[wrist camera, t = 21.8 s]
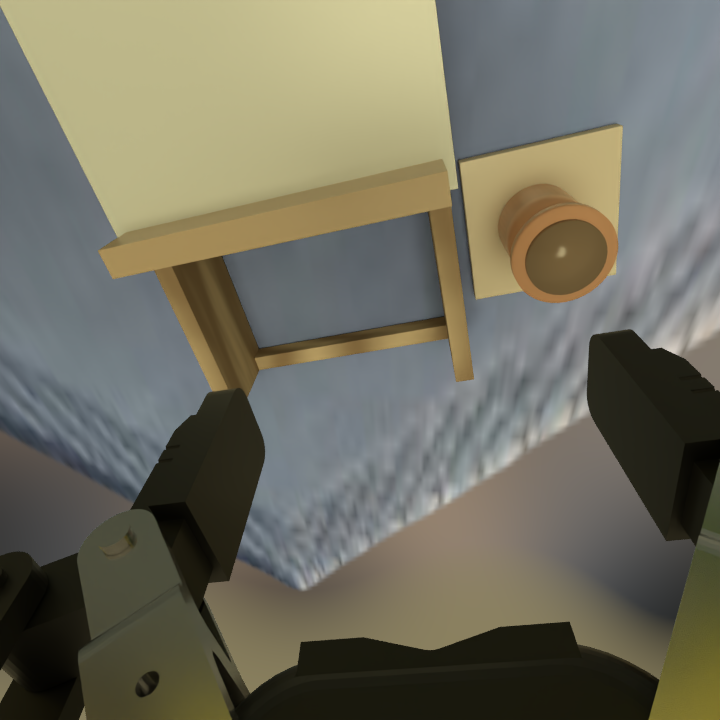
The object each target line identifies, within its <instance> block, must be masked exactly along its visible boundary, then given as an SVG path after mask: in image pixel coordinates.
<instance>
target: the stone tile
mask: <svg viewBox="0 0 720 720" xmlns="http://www.w3.org/2000/svg"><path fill="white" fill-rule="evenodd" d="M622 130H623V126H622V125H619V124H613V125H608V126H604V127H600V128H595V129H591V130H587V131H582V132H578V133H574V134H569V135H565V136H561V137H557V138H552V139H548V140H544V141H539V142H535V143H531V144H526V145H522V146H518V147H513V148H509V149H505V150H500V151H496V152H492V153H487V154H483V155H479V156H474V157H470V158H466V159H461V160H458V163H459V171H460V180H461V188H462V196H463V205H464V213H465V221H466V230H467V238H468V247H469V255H470V263H471V272H472V280H473V288H474V295H475V298H476V299H481V298H487V297H492V296H498V295H503V294H509V293H514V292H520V291H523V290H522V289H521V287H520V286H519V285H518V283H517V281H516V279H515V277H514V275H513V273H512V270H511V265H510V257H509V255H508V254H507V252H506V250H505V248H504V246H503V244H502V243H501V240H500V238H499V234H498V221H499V217H500V214H501V212H502V210H503V208H504V206H505V205H506V203H507V202H508V201H509V200H510V198H511V197H513V196H514V195H515V194H516V193H517V192H519V191H520V190H522V189H524V188H526V187H529V186H532V185H536V184H551V185H555V186H557V187H560V188H561V189H563V190H564V191H566V192H567V193H568V194H569V195H570V196H572V197H573V198H574V199H575V200H576V201H578V202H579V203H582V204H586V205H589V206H591V207H593V208H595V209H596V210H598V211H599V212H601V213H602V214H603V215H604V216H605V217H607V218H608V219H609V221H610V222H611V223H612V225H613V227H614V228H615V231H616V234H617V237H618V216H619V194H620V173H621V152H622ZM616 259H617V257H616ZM615 274H616V260H615V263H614V265H613V267H612V269H611V271H610V272H609V274H608V275H607V276H609V275H615Z"/></svg>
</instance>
